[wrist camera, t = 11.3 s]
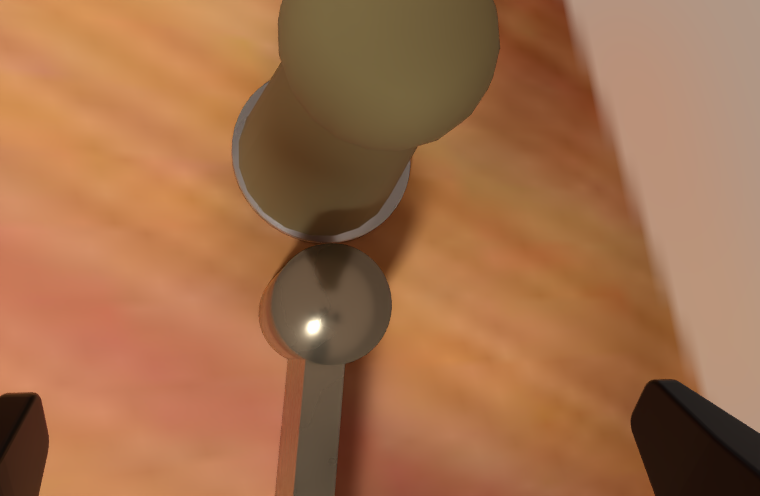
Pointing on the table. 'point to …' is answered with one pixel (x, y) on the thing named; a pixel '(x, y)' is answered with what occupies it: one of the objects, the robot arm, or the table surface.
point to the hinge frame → (319, 335)
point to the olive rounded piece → (360, 103)
